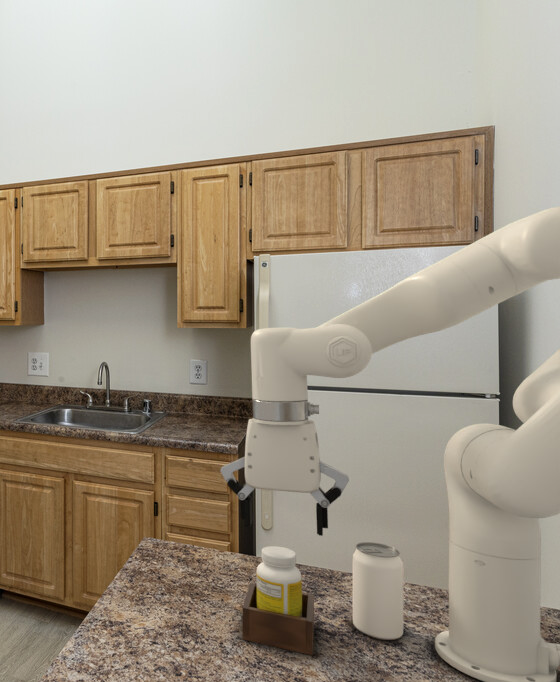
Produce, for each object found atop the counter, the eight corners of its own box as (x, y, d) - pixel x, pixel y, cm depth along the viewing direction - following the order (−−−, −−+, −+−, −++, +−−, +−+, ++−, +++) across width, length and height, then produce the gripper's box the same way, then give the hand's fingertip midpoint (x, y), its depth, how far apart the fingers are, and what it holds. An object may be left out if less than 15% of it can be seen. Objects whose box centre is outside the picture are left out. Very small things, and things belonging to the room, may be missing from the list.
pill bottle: (293, 616, 85) (293, 544, 85) (308, 638, 79) (308, 560, 79) (251, 615, 86) (251, 543, 86) (263, 636, 80) (263, 559, 79)
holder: (313, 624, 84) (313, 594, 84) (312, 655, 76) (312, 621, 76) (250, 611, 88) (250, 582, 88) (242, 639, 80) (242, 607, 80)
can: (411, 643, 79) (411, 559, 79) (361, 639, 80) (361, 555, 80) (392, 620, 85) (392, 542, 85) (346, 616, 87) (346, 539, 87)
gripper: (346, 410, 81) (349, 527, 81) (223, 407, 89) (226, 514, 89) (347, 417, 75) (351, 545, 75) (214, 413, 82) (218, 529, 82)
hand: (283, 528), depth 82 cm, fingers open, 9 cm apart
